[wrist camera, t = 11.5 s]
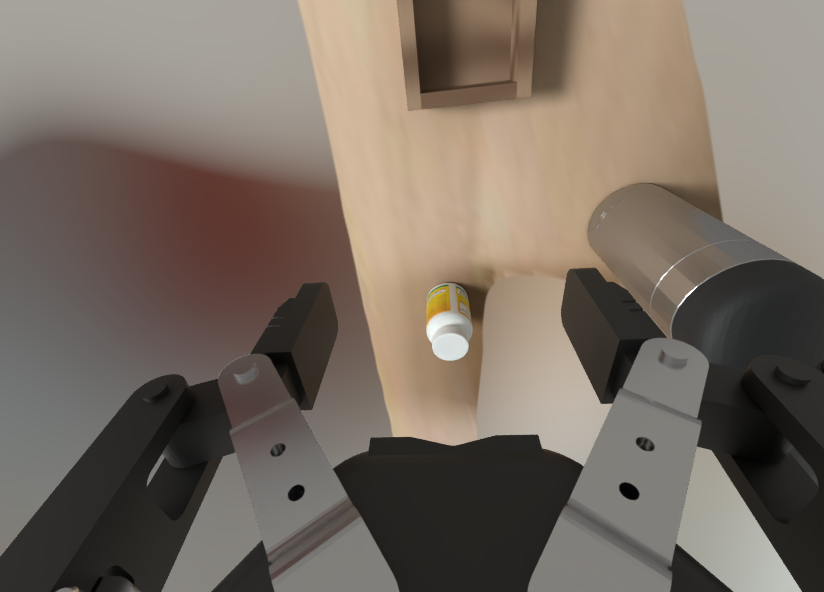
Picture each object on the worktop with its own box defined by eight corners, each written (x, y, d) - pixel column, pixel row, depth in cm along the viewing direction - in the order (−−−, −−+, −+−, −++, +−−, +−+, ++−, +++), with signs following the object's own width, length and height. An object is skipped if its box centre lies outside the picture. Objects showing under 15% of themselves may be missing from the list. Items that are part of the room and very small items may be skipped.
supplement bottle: (472, 285, 47) (481, 333, 39) (461, 317, 49) (468, 368, 41) (431, 277, 46) (432, 324, 38) (422, 311, 49) (422, 361, 41)
